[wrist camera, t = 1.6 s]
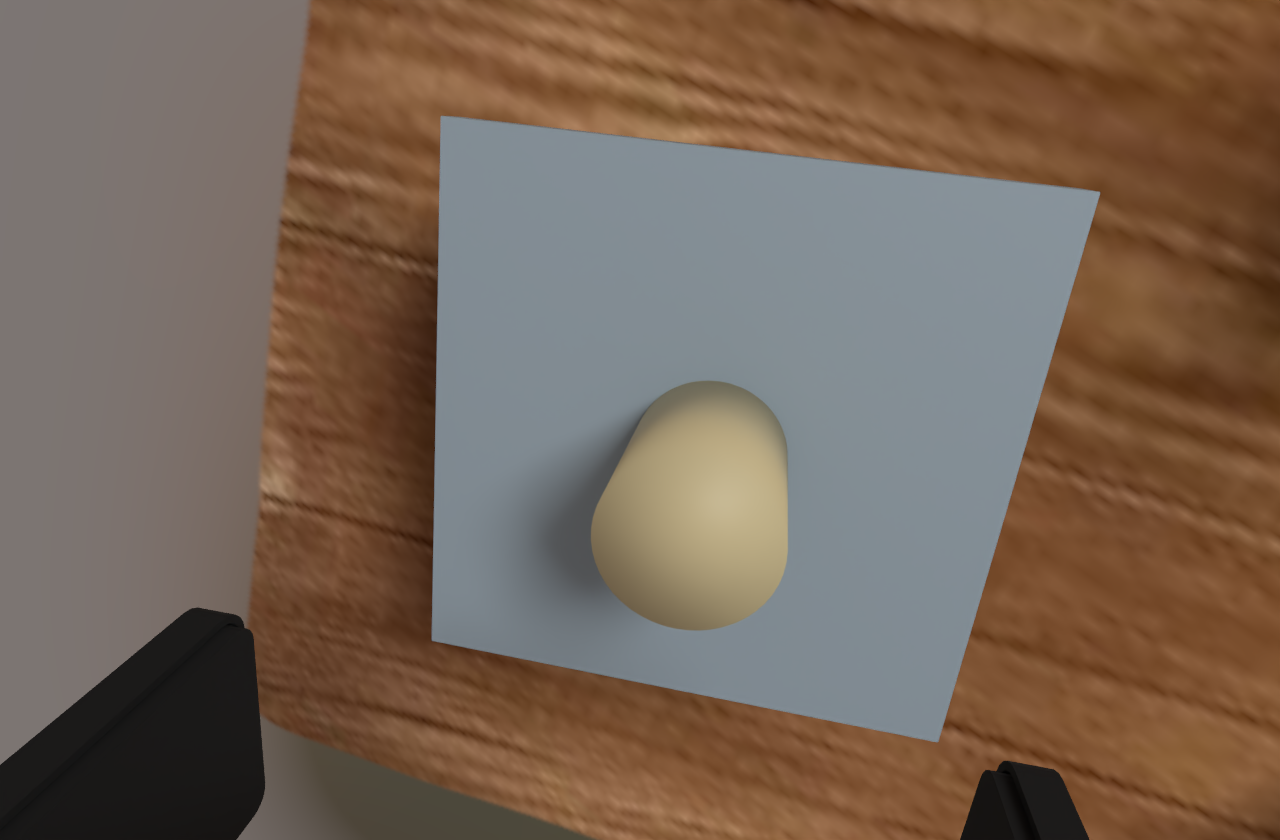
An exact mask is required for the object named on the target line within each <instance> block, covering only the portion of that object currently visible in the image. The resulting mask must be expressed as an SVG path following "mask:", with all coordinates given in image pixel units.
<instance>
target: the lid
mask: <svg viewBox="0 0 1280 840" xmlns="http://www.w3.org/2000/svg"><path fill="white" fill-rule="evenodd" d="M1099 195H1100V192H1097V191H1091V190H1086V189H1079V188H1071V187H1062V186H1053V185H1045V184H1036V183H1027V182H1019V181H1010V180H1001V179H993V178H984V177H975V176H967V175H958V174H949V173H941V172H932V171H923V170H915V169H906V168H898V167H889V166H880V165H872V164H863V163H854V162H846V161H837V160H828V159H820V158H811V157H802V156H794V155H785V154H776V153H768V152H759V151H750V150H742V149H733V148H724V147H716V146H707V145H698V144H690V143H681V142H672V141H664V140H655V139H646V138H638V137H629V136H620V135H612V134H603V133H595V132H586V131H577V130H569V129H560V128H551V127H543V126H534V125H525V124H517V123H508V122H499V121H491V120H482V119H473V118H465V117H452V116H441V136H440V194H439V251H438V308H437V365H436V422H435V479H434V537H433V594H432V641H436V642H441V643H446V644H451V645H456V646H461V647H466V648H471V649H476V650H481V651H486V652H491V653H496V654H501V655H506V656H510V657H515V658H520V659H525V660H530V661H535V662H540V663H545V664H550V665H555V666H560V667H565V668H570V669H575V670H580V671H585V672H590V673H595V674H600V675H605V676H610V677H615V678H620V679H625V680H630V681H635V682H640V683H645V684H650V685H655V686H660V687H665V688H670V689H675V690H680V691H685V692H690V693H695V694H700V695H705V696H710V697H715V698H720V699H725V700H730V701H734V702H739V703H744V704H749V705H754V706H759V707H764V708H769V709H774V710H779V711H784V712H789V713H794V714H799V715H804V716H809V717H814V718H819V719H824V720H829V721H834V722H839V723H844V724H849V725H854V726H859V727H864V728H869V729H874V730H879V731H884V732H889V733H894V734H899V735H904V736H909V737H914V738H919V739H924V740H929V741H934V742H938V741H939V737H940V734H941V731H942V727H943V724H944V720H945V717H946V714H947V710H948V707H949V703H950V700H951V697H952V693H953V690H954V687H955V683H956V680H957V676H958V673H959V670H960V666H961V663H962V659H963V656H964V653H965V649H966V646H967V642H968V639H969V636H970V632H971V629H972V626H973V622H974V619H975V615H976V612H977V609H978V605H979V602H980V598H981V595H982V592H983V588H984V585H985V582H986V578H987V575H988V571H989V568H990V565H991V561H992V558H993V554H994V551H995V548H996V544H997V541H998V538H999V534H1000V531H1001V527H1002V524H1003V521H1004V517H1005V514H1006V510H1007V507H1008V504H1009V500H1010V497H1011V493H1012V490H1013V487H1014V483H1015V480H1016V477H1017V473H1018V470H1019V466H1020V463H1021V460H1022V456H1023V453H1024V449H1025V446H1026V443H1027V439H1028V436H1029V433H1030V429H1031V426H1032V422H1033V419H1034V416H1035V412H1036V409H1037V405H1038V402H1039V399H1040V395H1041V392H1042V388H1043V385H1044V382H1045V378H1046V375H1047V372H1048V368H1049V365H1050V361H1051V358H1052V355H1053V351H1054V348H1055V344H1056V341H1057V338H1058V334H1059V331H1060V328H1061V324H1062V321H1063V317H1064V314H1065V311H1066V307H1067V304H1068V300H1069V297H1070V294H1071V290H1072V287H1073V284H1074V280H1075V277H1076V273H1077V270H1078V267H1079V263H1080V260H1081V256H1082V253H1083V250H1084V246H1085V243H1086V239H1087V236H1088V233H1089V229H1090V226H1091V223H1092V219H1093V216H1094V212H1095V209H1096V206H1097V202H1098V199H1099Z"/></svg>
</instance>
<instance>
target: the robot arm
mask: <svg viewBox="0 0 1280 840" xmlns="http://www.w3.org/2000/svg"><path fill="white" fill-rule="evenodd" d="M264 790H265V776H264V764H263V751H262V738H261V726H260V713H259V701H258V688H257V676H256V663H255V651H254V639H253V634H252V632H251V631H250V630H249V629H246V628H244V624H243V621H242V619H241V618H240V617H239V616H237V615H234V614H229V613H223V612H218V611H213V610H207V609H202V608H192V609H190V610H189V611H187V612H185V613H184V614H183V615H181V616H180V617H179V618H178V619H176V620H175V621H174V622H173V623H172V624H170V625H169V626H168V627H167V628H165V629H164V630H163V631H162V632H161V633H159V634H158V635H157V636H156V637H154V638H153V639H152V640H151V641H150V642H148V643H147V644H146V645H145V646H144V647H142V648H141V649H140V650H139V651H138V652H136V653H135V654H134V655H133V656H131V657H130V658H129V659H128V660H127V661H125V662H124V663H123V664H122V665H121V666H119V667H118V668H117V669H116V670H115V671H113V672H112V673H111V674H110V675H109V676H107V677H106V678H105V679H104V680H102V681H101V682H100V683H99V684H98V685H96V686H95V687H94V688H93V689H92V690H90V691H89V692H88V693H87V694H86V695H84V696H83V697H82V698H81V699H79V700H78V701H77V702H76V703H75V704H73V705H72V706H71V707H70V708H69V709H68V710H66V711H65V712H64V713H63V714H61V715H60V716H59V717H58V718H56V719H55V720H54V721H53V722H52V723H50V724H49V725H48V726H47V727H46V728H44V729H43V730H42V731H41V732H40V733H38V734H37V735H36V736H35V737H34V738H32V739H31V740H30V741H29V742H28V743H26V744H25V745H24V746H23V747H21V748H20V749H19V750H18V751H17V752H15V753H14V754H13V755H12V756H11V757H9V758H8V759H7V760H6V761H4V762H3V763H2V764H1V765H0V840H236V839H237V838H238V837H239V835H240V834H241V833H242V831H243V830H244V828H245V827H246V826H247V825H248V823H249V822H250V821H251V819H252V818H253V817H254V815H255V814H256V812H257V810H258V808H259V806H260V804H261V802H262V799H263V795H264ZM960 840H1089V837H1088V835H1087V833H1086V831H1085V828H1084V826H1083V824H1082V822H1081V819H1080V817H1079V815H1078V813H1077V811H1076V808H1075V806H1074V804H1073V802H1072V799H1071V797H1070V795H1069V793H1068V790H1067V788H1066V786H1065V784H1064V781H1063V779H1062V778H1061V776H1060V774H1059V773H1058V772H1056V771H1055V770H1054V769H1048V768H1043V767H1038V766H1032V765H1027V764H1022V763H1016V762H1011V761H1003V762H1002V763H1001V764H1000V765H999V767H998V769H997V771H996V772H995V771H990V770H985V771H984V772H983V774H982V776H981V778H980V781H979V784H978V787H977V790H976V793H975V796H974V799H973V802H972V805H971V808H970V811H969V815H968V818H967V821H966V824H965V827H964V830H963V833H962V836H961V839H960Z"/></svg>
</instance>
